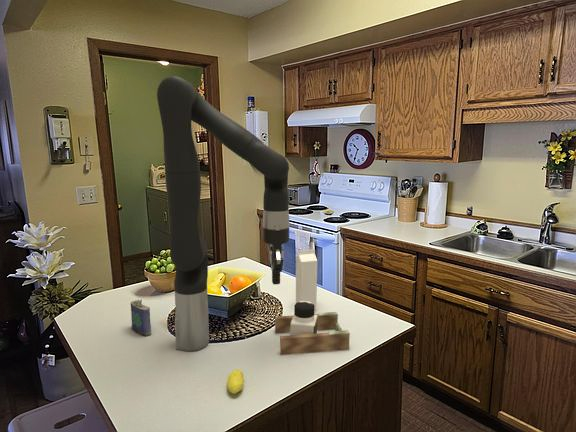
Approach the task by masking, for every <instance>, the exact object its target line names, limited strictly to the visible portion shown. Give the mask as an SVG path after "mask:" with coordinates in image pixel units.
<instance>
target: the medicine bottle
mask: <svg viewBox="0 0 576 432" xmlns="http://www.w3.org/2000/svg"><path fill="white" fill-rule="evenodd" d="M293 308H294V310H293V313H294V314H293V315H294V316H293V315H292V316H293V319H292V321H291V327H290V333H289V334H290V335H301V334H315V333H318V331H317V315H314V314H315V311H314V310H315V306H314V304H313V303H311V302H308V301H300V302H297V303H296V302H295V303H294V307H293Z"/></svg>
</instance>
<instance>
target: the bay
mask: <svg viewBox="0 0 576 432" xmlns="http://www.w3.org/2000/svg"><path fill="white" fill-rule="evenodd" d="M314 315H317V333H315V334H301V335H288V334H290V327H291V321H292V319H293V316H294V314H293V315H279V316H274V333H275V334H276V335H277V334H278V335H279V334H287V335H280V336H279V338H280V340H279V345H280V346H279V348H280V349H279V351H280V356H286V355H297V354H310V353H320V352H321V353H322V352H323V353H324V352H337V351H347V350H350V335H351V334H350V331H349V330H348V329H347V330H343V329H342V327H341V326H340V324H339V322H338V319H339V314H338V312H337V311H330V312H318V313H314ZM318 331H327V332H320V333H319V332H318Z"/></svg>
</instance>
